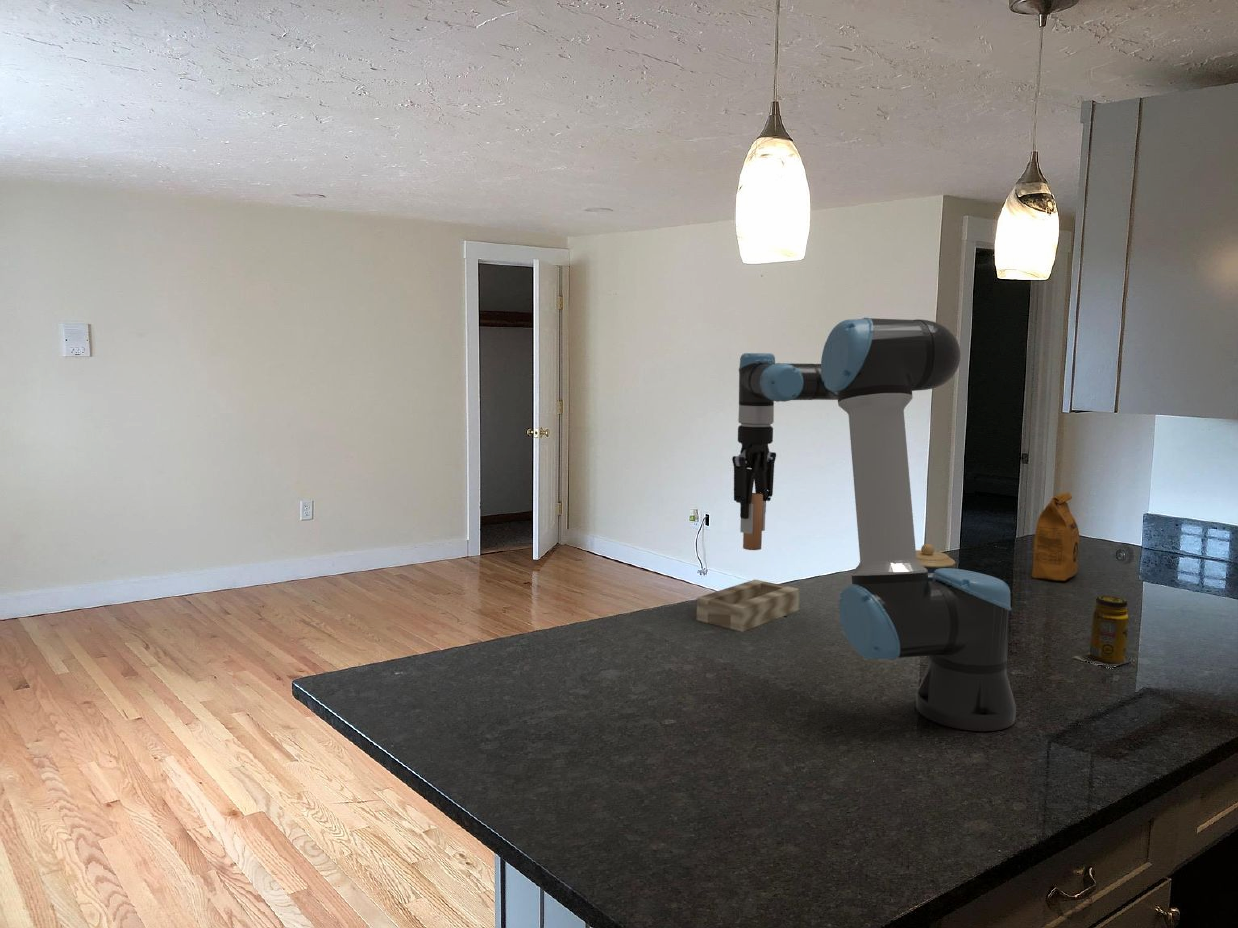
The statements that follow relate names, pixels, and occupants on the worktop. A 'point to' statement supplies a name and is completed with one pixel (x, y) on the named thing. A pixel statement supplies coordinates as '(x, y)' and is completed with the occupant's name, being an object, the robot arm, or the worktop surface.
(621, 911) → the worktop surface
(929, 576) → the canister
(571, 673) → the worktop surface
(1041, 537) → the coffee package
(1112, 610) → the condiment
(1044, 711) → the worktop surface
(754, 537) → the peg
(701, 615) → the socket block
